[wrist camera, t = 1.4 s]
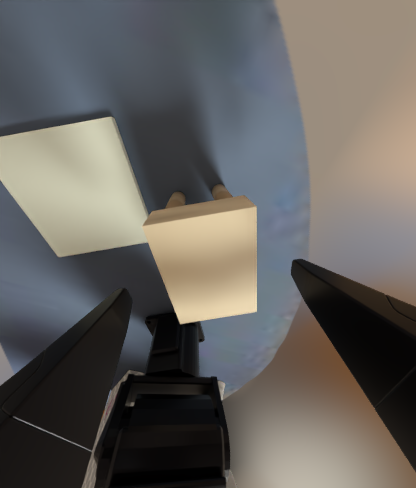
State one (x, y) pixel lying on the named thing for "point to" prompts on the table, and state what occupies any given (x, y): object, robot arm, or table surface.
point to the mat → (75, 186)
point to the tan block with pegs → (206, 254)
